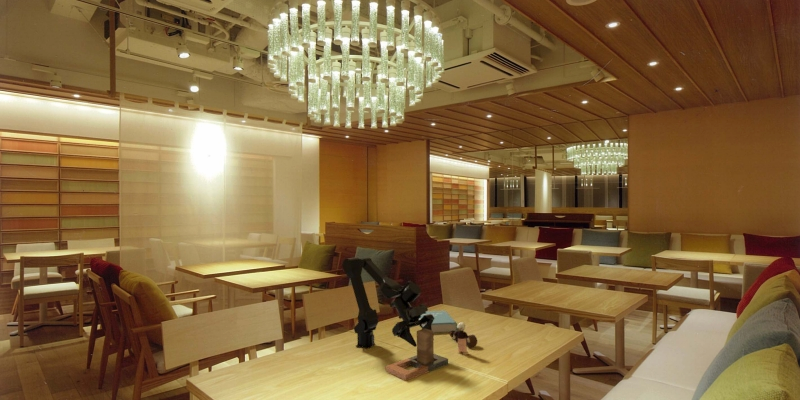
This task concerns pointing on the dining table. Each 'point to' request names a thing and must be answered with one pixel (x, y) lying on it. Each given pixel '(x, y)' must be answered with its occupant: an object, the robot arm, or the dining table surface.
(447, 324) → the book
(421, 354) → the walnut post
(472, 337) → the bolt
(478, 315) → the dining table surface
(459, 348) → the grandmother figurine
